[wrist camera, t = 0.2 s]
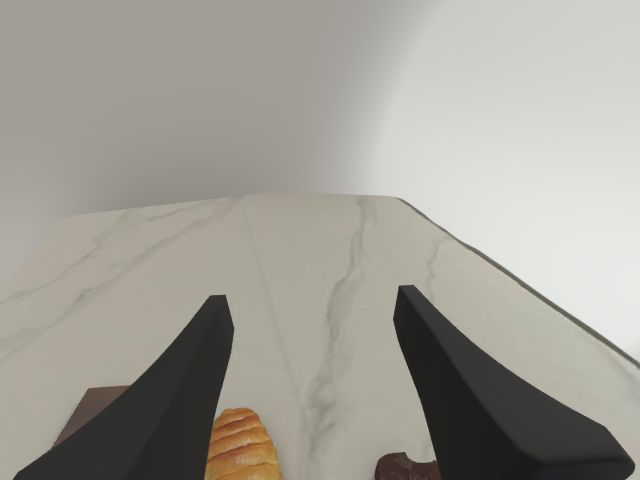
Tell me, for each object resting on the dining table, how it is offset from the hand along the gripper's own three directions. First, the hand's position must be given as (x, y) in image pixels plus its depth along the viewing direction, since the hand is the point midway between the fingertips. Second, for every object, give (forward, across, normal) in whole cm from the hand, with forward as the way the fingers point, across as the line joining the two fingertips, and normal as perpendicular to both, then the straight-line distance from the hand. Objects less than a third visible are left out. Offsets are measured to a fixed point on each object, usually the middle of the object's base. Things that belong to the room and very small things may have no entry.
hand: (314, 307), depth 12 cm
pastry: (+1, +7, +21) cm, 22 cm away
